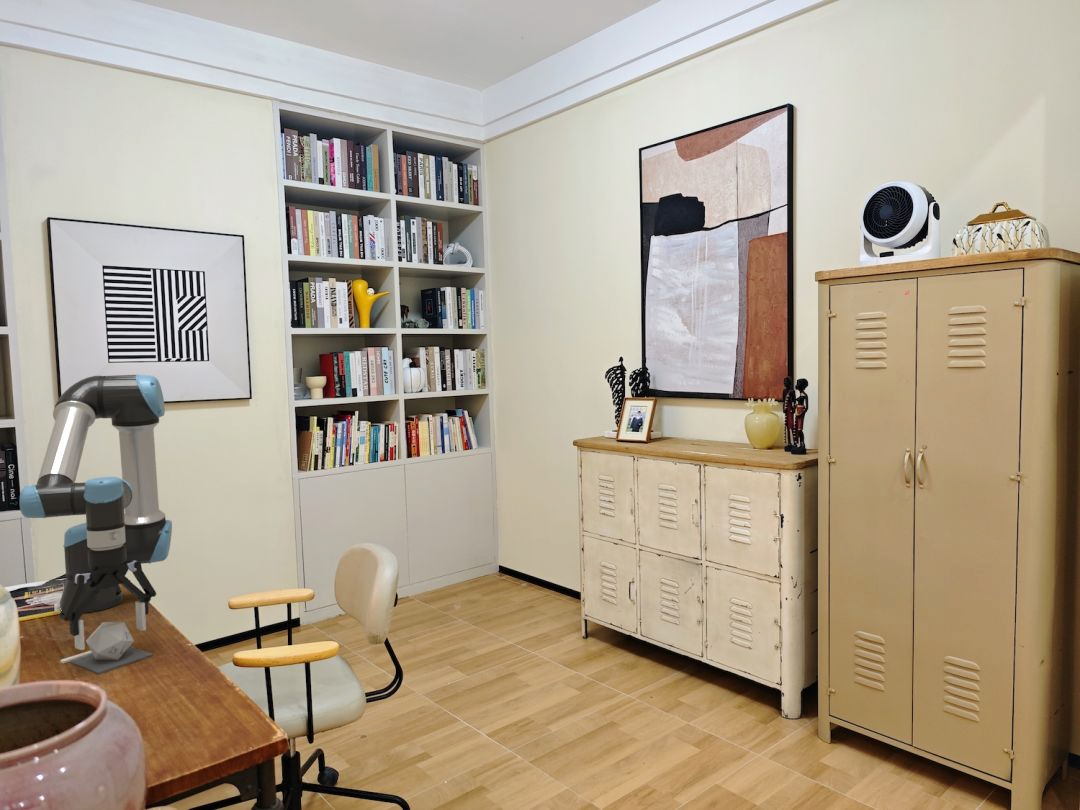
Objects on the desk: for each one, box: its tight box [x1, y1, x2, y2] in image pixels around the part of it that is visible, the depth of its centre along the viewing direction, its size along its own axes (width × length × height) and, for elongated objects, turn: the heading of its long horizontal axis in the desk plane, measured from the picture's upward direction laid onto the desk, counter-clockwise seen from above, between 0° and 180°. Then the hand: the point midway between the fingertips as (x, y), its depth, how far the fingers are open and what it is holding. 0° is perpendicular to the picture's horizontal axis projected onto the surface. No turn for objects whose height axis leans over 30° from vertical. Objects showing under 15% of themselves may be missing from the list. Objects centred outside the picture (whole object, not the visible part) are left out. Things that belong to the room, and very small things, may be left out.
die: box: [85, 621, 135, 660], centre depth 170 cm, size 8×9×10 cm
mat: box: [59, 645, 154, 675], centre depth 171 cm, size 14×15×1 cm
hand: (111, 638), depth 170 cm, fingers open, 13 cm apart
